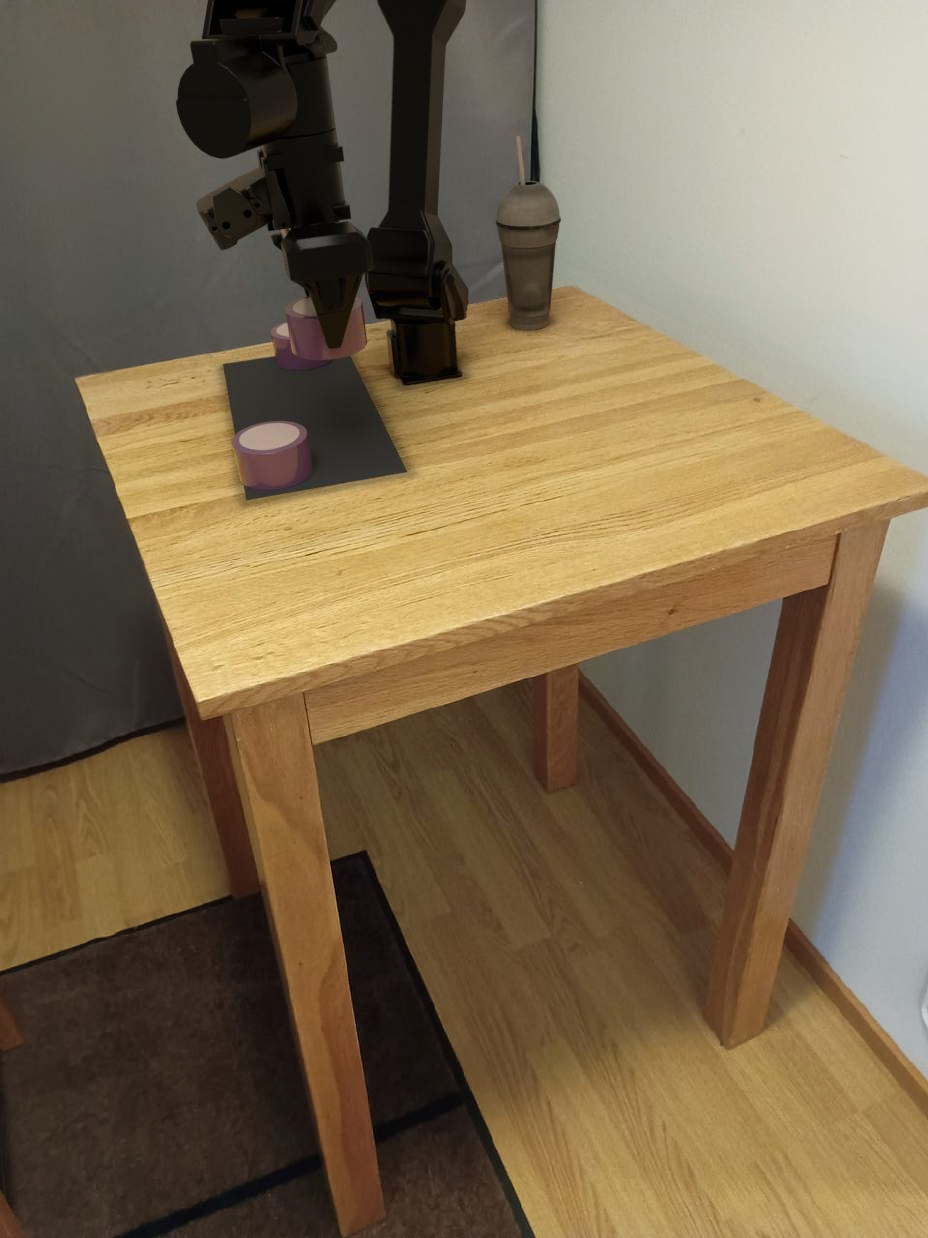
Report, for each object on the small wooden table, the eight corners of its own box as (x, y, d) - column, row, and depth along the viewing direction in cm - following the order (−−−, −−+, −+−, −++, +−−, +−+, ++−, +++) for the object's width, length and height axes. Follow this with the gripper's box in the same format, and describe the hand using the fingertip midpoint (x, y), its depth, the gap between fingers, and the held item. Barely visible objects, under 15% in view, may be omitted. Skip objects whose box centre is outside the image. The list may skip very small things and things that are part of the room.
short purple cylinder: (329, 345, 107) (324, 314, 105) (338, 365, 102) (333, 333, 100) (273, 353, 106) (267, 322, 104) (279, 374, 101) (273, 342, 98)
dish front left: (359, 328, 83) (354, 287, 81) (373, 353, 78) (368, 310, 76) (287, 339, 82) (280, 298, 80) (297, 365, 77) (289, 322, 74)
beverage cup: (538, 338, 106) (536, 144, 94) (486, 327, 110) (479, 140, 98) (572, 318, 110) (574, 132, 98) (521, 309, 114) (518, 128, 102)
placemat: (345, 347, 107) (345, 345, 107) (407, 474, 81) (407, 471, 81) (223, 366, 104) (222, 363, 104) (246, 503, 78) (246, 499, 78)
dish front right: (308, 451, 85) (302, 415, 83) (318, 483, 80) (311, 445, 78) (237, 463, 84) (228, 426, 82) (242, 496, 79) (234, 458, 77)
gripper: (184, 123, 76) (225, 314, 85) (195, 165, 61) (242, 390, 70) (319, 109, 78) (344, 296, 87) (361, 146, 63) (385, 367, 72)
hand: (327, 334), depth 79 cm, fingers closed on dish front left, 6 cm apart
